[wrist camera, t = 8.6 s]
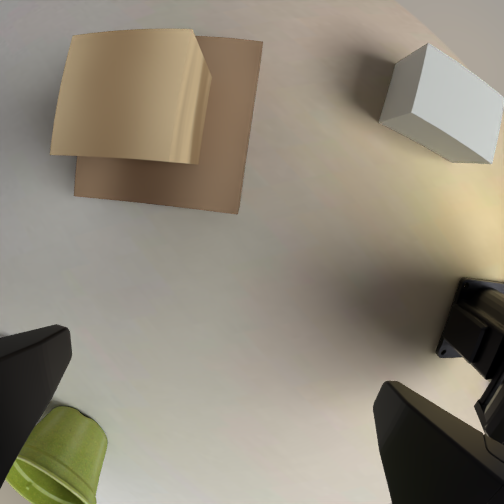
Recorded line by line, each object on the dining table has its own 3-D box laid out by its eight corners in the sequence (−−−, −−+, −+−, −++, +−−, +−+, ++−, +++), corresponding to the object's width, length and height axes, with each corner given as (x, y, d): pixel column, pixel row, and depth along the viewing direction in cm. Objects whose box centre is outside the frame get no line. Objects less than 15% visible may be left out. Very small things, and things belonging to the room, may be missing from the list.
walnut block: (260, 60, 17) (262, 41, 14) (239, 207, 19) (237, 214, 16) (117, 54, 16) (98, 38, 13) (97, 191, 18) (74, 196, 16)
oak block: (212, 77, 14) (192, 29, 8) (198, 164, 15) (168, 161, 9) (127, 74, 14) (72, 35, 8) (113, 157, 15) (49, 155, 9)
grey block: (394, 64, 17) (464, 106, 17) (377, 122, 18) (450, 162, 18) (428, 43, 12) (504, 98, 13) (411, 112, 13) (492, 164, 14)
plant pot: (70, 459, 25) (41, 516, 16) (21, 391, 23) (-24, 447, 14) (141, 461, 24) (119, 532, 16) (91, 386, 22) (46, 460, 14)
